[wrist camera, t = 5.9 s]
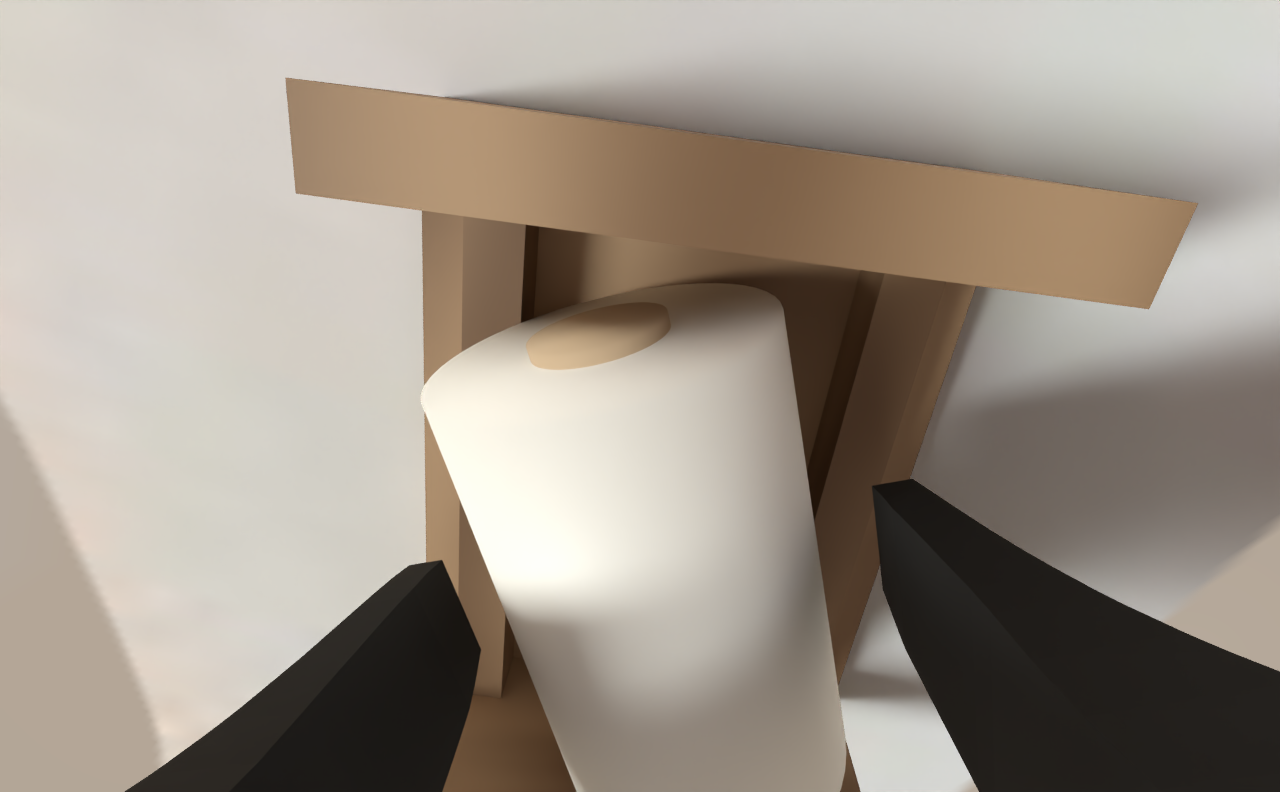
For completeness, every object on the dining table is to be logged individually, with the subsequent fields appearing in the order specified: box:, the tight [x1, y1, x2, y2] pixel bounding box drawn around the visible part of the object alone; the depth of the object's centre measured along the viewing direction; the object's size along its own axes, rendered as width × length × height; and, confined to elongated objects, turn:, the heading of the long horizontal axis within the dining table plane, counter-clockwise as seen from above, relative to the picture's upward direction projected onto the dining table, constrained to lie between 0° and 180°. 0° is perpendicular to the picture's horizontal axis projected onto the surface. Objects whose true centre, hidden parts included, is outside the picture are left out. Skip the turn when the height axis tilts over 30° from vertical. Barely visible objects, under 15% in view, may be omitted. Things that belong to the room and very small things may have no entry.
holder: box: [286, 78, 1198, 792], centre depth 12 cm, size 10×13×5 cm
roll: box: [421, 283, 846, 792], centre depth 10 cm, size 5×8×5 cm, turn 13°
